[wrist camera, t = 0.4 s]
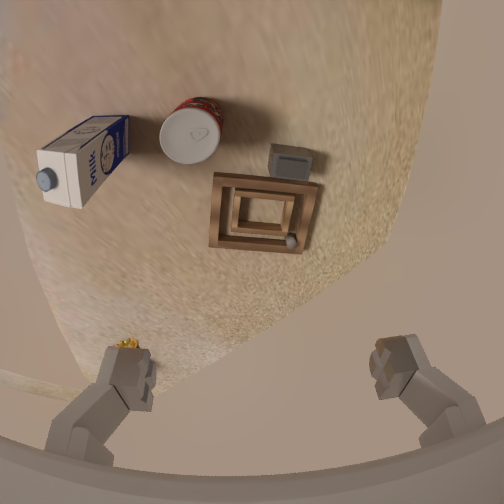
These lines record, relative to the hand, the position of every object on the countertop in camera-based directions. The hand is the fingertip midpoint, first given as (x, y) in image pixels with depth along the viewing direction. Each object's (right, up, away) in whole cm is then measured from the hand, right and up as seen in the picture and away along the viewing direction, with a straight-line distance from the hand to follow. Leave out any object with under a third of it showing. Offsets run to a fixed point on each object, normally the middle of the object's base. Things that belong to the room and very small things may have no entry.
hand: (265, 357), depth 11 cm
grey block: (+5, +19, +41) cm, 46 cm away
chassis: (+1, +11, +47) cm, 48 cm away
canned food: (-9, +25, +37) cm, 45 cm away
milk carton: (-24, +23, +37) cm, 50 cm away
